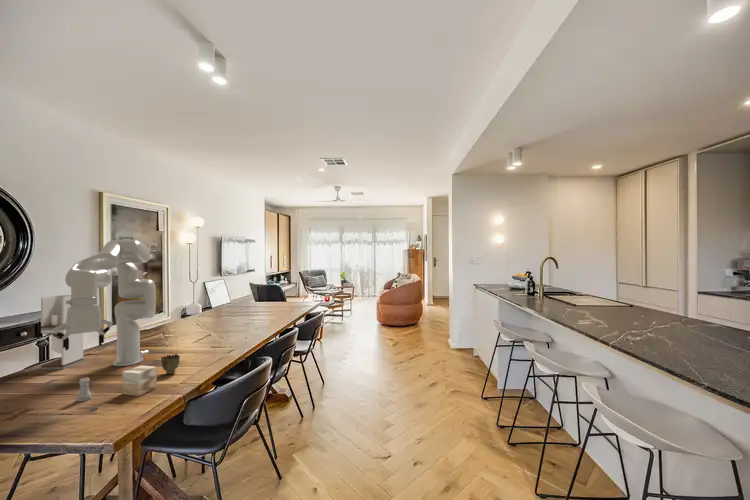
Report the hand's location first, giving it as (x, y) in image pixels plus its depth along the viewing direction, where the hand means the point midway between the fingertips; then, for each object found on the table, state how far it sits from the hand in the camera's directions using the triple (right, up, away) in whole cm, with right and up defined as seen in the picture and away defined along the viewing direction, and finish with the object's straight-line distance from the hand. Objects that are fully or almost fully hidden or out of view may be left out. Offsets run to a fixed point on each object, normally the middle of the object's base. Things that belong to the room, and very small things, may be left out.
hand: (84, 347), depth 128 cm
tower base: (+16, -20, +8) cm, 27 cm away
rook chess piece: (0, -20, 0) cm, 20 cm away
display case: (-46, -21, +40) cm, 64 cm away
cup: (+16, -20, +28) cm, 38 cm away
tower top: (+16, -16, +8) cm, 24 cm away
